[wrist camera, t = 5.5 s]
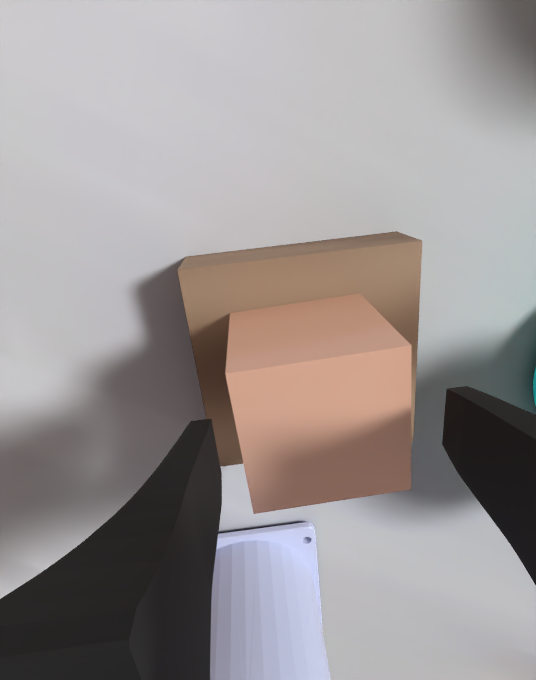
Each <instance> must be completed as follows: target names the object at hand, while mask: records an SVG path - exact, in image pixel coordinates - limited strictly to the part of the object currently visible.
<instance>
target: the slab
mask: <svg viewBox="0 0 536 680" xmlns="http://www.w3.org/2000/svg"><path fill="white" fill-rule="evenodd" d="M421 254H422V241H421V240H418V239H416V238H413V237H410V236H407V235H405V234H402V233H399V232H389V233H381V234H373V235H364V236H356V237H348V238H339V239H331V240H322V241H314V242H306V243H297V244H289V245H280V246H272V247H264V248H255V249H247V250H239V251H230V252H222V253H213V254H205V255H197V256H188V257H185V259H184V260H183V262H182V263H181V265H180V266H179V268H178V270H177V271H178V277H179V282H180V287H181V292H182V297H183V302H184V307H185V312H186V317H187V322H188V327H189V333H190V338H191V343H192V348H193V353H194V358H195V363H196V368H197V373H198V378H199V383H200V388H201V394H202V399H203V404H204V409H205V414H206V419H212V425H213V430H214V435H215V441H216V446H217V452H218V457H219V462H220V466H227V465H235V464H243V458H242V453H241V448H240V444H239V439H238V434H237V429H236V424H235V419H234V414H233V409H232V404H231V400H230V395H229V390H228V385H227V380H226V375H225V371H226V358H227V345H228V332H229V319H230V313H234V312H241V311H247V310H254V309H260V308H267V307H273V306H280V305H286V304H293V303H299V302H306V301H313V300H319V299H326V298H332V297H339V296H345V295H352V294H358V293H360V294H361V295H362V296H363V297H364V298H365V299H366V300H367V301H368V302H369V303H370V304H371V305H372V306H373V307H374V308H375V309H376V310H377V311H378V312H379V313H380V314H381V315H382V316H383V317H384V318H385V319H386V320H387V321H388V322H389V323H390V324H391V325H392V326H393V327H394V328H395V329H396V330H397V331H398V332H399V333H400V334H401V335H402V336H403V337H404V338H405V339H406V340H407V341H408V342H409V343H410V344H411V345H412V350H411V442H413V435H414V413H415V390H416V367H417V345H418V322H419V299H420V277H421Z"/></svg>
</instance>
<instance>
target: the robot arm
mask: <svg viewBox="0 0 536 680" xmlns="http://www.w3.org/2000/svg"><path fill="white" fill-rule="evenodd" d="M442 444H443V446H444V448H445V450H446V452H447V454H448V456H449V458H450V460H451V461H452V463H453V465H454V467H455V468H456V470H457V472H458V474H459V475H460V476H461V478H462V479H463V481H464V482H465V483H466V485H467V486H468V487H469V489H470V490H471V491H472V493H473V494H474V496H475V497H476V498H477V500H478V501H479V502H480V504H481V505H482V506H483V508H484V509H485V510H486V512H487V513H488V514H489V516H490V517H491V518H492V520H493V521H494V522H495V524H496V525H497V526H498V528H499V529H500V530H501V532H502V533H503V534H504V536H505V537H506V539H507V540H508V542H509V543H510V544H511V546H512V547H513V549H514V550H515V552H516V553H517V555H518V557H519V558H520V560H521V562H522V563H523V565H524V566H525V568H526V570H527V571H528V573H529V575H530V576H531V578H532V580H533V581H534V583H535V585H536V415H535V414H532V413H530V412H528V411H525V410H523V409H521V408H518V407H516V406H514V405H511V404H509V403H507V402H504V401H502V400H500V399H498V398H495V397H493V396H491V395H488V394H486V393H483V392H481V391H478V390H476V389H473V388H470V387H467V386H465V387H457V388H449V389H447V391H446V404H445V416H444V429H443V442H442ZM221 504H222V480H221V468H220V462H219V457H218V452H217V446H216V441H215V435H214V430H213V425H212V419H205V420H197V421H191V422H190V423H189V425H188V426H187V427H186V429H185V430H184V432H183V433H182V435H181V436H180V438H179V439H178V441H177V442H176V443H175V445H174V446H173V448H172V449H171V450H170V452H169V453H168V454H167V456H166V457H165V458H164V460H163V461H162V463H161V464H160V465H159V466H158V468H157V469H156V470H155V471H154V473H153V474H152V475H151V476H150V477H149V479H148V480H147V481H146V482H145V483H144V485H143V486H142V487H141V488H140V489H139V490H138V492H137V493H136V494H135V495H134V496H133V497H132V498H131V499H130V500H129V501H128V502H127V503H126V504H125V505H124V506H123V507H122V508H121V509H120V510H119V511H118V512H117V513H116V514H115V515H114V516H113V517H111V518H110V519H109V520H108V521H107V522H106V523H104V524H103V525H102V526H101V527H100V528H99V529H97V530H96V531H95V532H94V533H93V534H92V535H91V536H89V537H88V538H87V539H86V540H85V541H83V542H82V543H81V544H80V545H78V546H77V547H76V548H74V549H73V550H72V551H71V552H69V553H68V554H67V555H65V556H64V557H63V558H61V559H60V560H58V561H57V562H56V563H54V564H53V565H51V566H50V567H49V568H47V569H46V570H44V571H43V572H41V573H40V574H39V575H37V576H36V577H34V578H33V579H31V580H29V581H28V582H26V583H25V584H23V585H22V586H20V587H18V588H17V589H15V590H14V591H12V592H11V593H9V594H7V595H6V596H4V597H3V598H1V599H0V680H331V677H330V671H329V666H328V660H327V655H326V649H325V644H324V639H323V633H322V615H321V602H320V589H319V576H318V563H317V550H316V537H315V529H314V526H313V525H312V524H311V523H309V522H303V523H296V524H288V525H281V526H273V527H266V528H258V529H251V530H243V531H236V532H228V533H221V534H218V531H219V522H220V513H221ZM305 537H307V538H305Z"/></svg>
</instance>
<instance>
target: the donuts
mask: <svg viewBox="0 0 536 680" xmlns="http://www.w3.org/2000/svg"><path fill="white" fill-rule="evenodd" d="M533 395H534V402H535V406H536V368H535V373H534V379H533Z"/></svg>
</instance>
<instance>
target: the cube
mask: <svg viewBox="0 0 536 680" xmlns="http://www.w3.org/2000/svg"><path fill="white" fill-rule="evenodd" d="M411 350H412V345H411V344H410V343H409V342H408V341H407V340H406V339H405V338H404V337H403V336H402V335H401V334H400V333H399V332H398V331H397V330H396V329H395V328H394V327H393V326H392V325H391V324H390V323H389V322H388V321H387V320H386V319H385V318H384V317H383V316H382V315H381V314H380V313H379V312H378V311H377V310H376V309H375V308H374V307H373V306H372V305H371V304H370V303H369V302H368V301H367V300H366V299H365V298H364V297H363V296H362V295H361V294H360V293H358V294H352V295H345V296H339V297H332V298H326V299H319V300H313V301H306V302H299V303H293V304H286V305H280V306H273V307H267V308H260V309H254V310H247V311H241V312H234V313H230V319H229V332H228V345H227V358H226V371H225V375H226V380H227V385H228V390H229V395H230V400H231V404H232V409H233V414H234V419H235V424H236V429H237V434H238V439H239V444H240V448H241V453H242V458H243V463H244V468H245V473H246V478H247V483H248V487H249V492H250V497H251V502H252V507H253V512H254V514H256V513H262V512H268V511H275V510H281V509H288V508H294V507H301V506H307V505H314V504H320V503H326V502H333V501H339V500H346V499H352V498H359V497H365V496H372V495H378V494H384V493H391V492H397V491H404V490H410V489H411Z"/></svg>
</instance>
